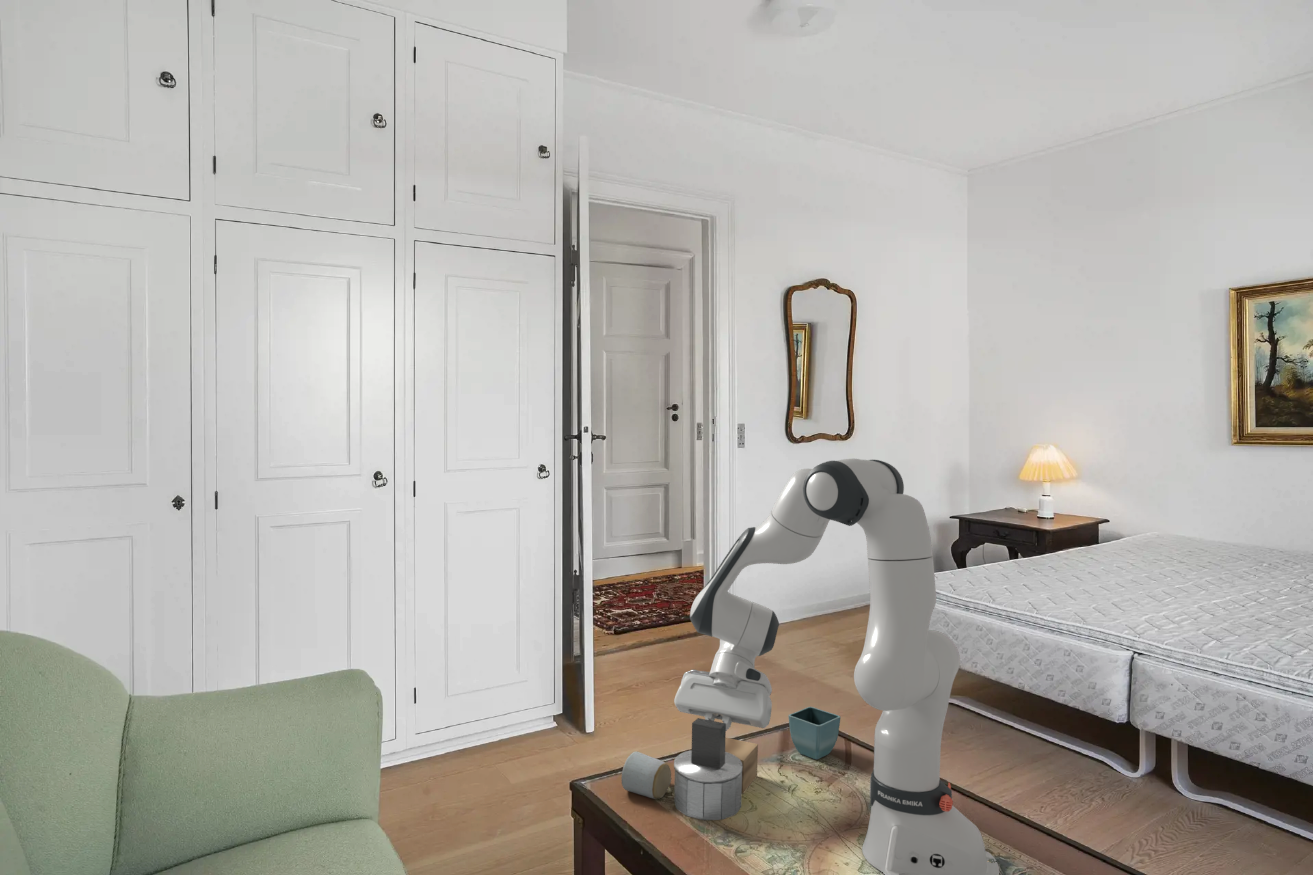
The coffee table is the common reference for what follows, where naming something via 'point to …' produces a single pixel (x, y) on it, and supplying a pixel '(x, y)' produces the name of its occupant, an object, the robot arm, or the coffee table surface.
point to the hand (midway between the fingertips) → (712, 738)
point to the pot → (708, 798)
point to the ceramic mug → (646, 775)
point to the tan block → (744, 759)
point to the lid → (708, 755)
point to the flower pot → (814, 731)
